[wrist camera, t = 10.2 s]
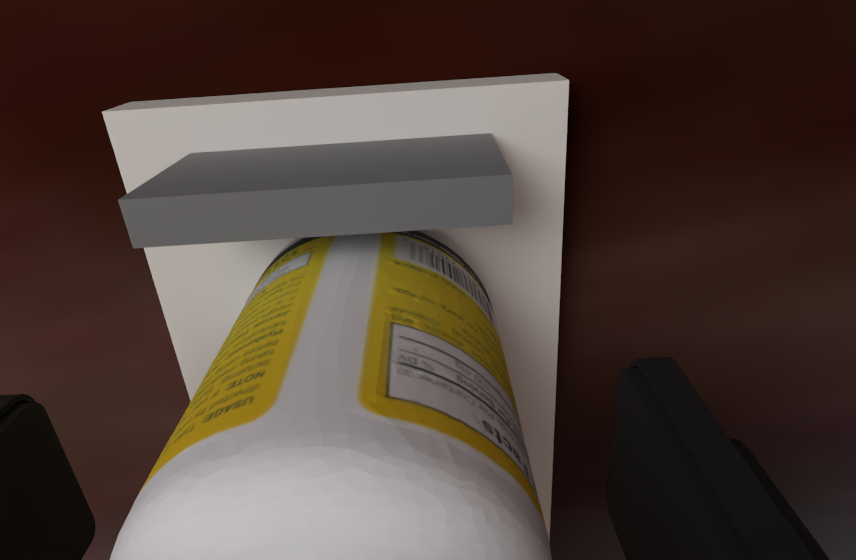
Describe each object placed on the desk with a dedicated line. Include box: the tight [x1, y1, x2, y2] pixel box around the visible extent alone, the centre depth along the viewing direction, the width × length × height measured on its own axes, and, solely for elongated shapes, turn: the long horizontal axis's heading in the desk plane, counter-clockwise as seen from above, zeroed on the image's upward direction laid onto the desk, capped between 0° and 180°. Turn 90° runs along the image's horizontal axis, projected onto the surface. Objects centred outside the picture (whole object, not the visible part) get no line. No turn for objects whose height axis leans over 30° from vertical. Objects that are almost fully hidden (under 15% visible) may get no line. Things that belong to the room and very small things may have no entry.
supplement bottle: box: [110, 230, 552, 560], centre depth 9 cm, size 5×5×10 cm
